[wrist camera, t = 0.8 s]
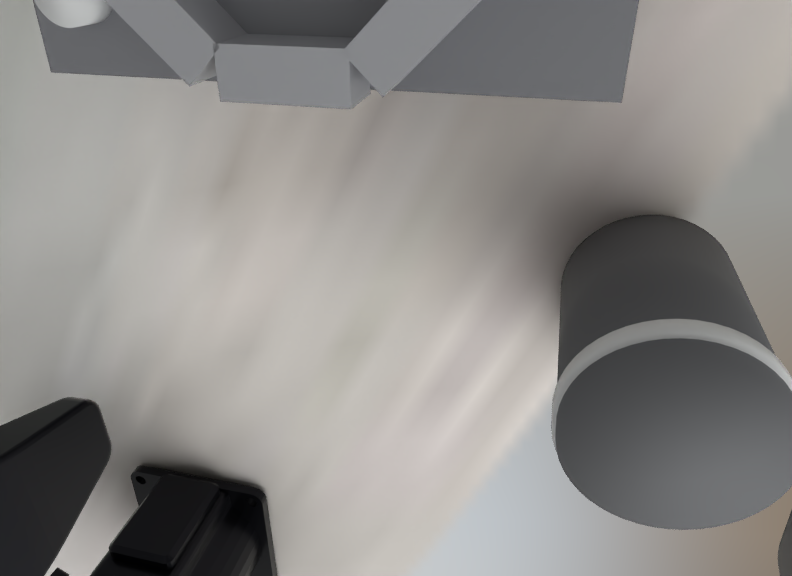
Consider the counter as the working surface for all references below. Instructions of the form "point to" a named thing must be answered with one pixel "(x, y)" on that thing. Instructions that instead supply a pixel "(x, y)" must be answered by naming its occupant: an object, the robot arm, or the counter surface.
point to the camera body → (350, 46)
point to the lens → (667, 380)
